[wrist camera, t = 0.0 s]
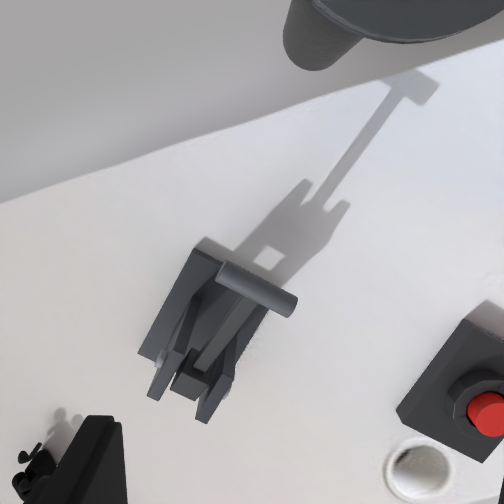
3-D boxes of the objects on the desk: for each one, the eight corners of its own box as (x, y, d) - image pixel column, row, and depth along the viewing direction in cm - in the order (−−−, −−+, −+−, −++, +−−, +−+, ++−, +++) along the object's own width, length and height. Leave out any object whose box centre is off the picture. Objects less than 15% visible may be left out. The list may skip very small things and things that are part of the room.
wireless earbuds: (69, 481, 48) (48, 520, 43) (49, 487, 48) (26, 527, 43) (40, 430, 46) (15, 465, 41) (19, 437, 47) (-8, 473, 42)
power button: (482, 385, 40) (492, 396, 39) (513, 402, 41) (524, 413, 39) (459, 414, 41) (468, 426, 40) (489, 430, 42) (499, 442, 40)
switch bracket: (193, 247, 41) (170, 292, 29) (276, 291, 42) (284, 349, 31) (140, 347, 44) (100, 423, 32) (218, 385, 45) (206, 472, 33)
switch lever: (230, 250, 26) (219, 275, 25) (300, 287, 27) (295, 314, 25) (164, 357, 35) (152, 381, 33) (219, 383, 35) (210, 409, 33)
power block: (463, 318, 43) (484, 336, 39) (543, 362, 44) (571, 384, 40) (395, 409, 45) (408, 435, 42) (472, 448, 47) (491, 477, 43)
